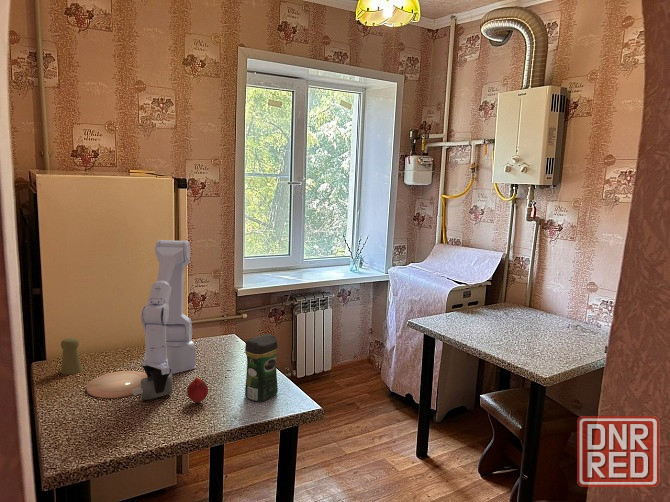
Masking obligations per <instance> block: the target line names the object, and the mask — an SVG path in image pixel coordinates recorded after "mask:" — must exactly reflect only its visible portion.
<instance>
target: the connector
mask: <svg viewBox="0 0 670 502" xmlns="http://www.w3.org/2000/svg"><path fill="white" fill-rule="evenodd" d="M173 385H174V384H173V374H169V376H168V378H167V381H166V385H165V389H164V392H161V393H158V394H157V393H156V391H155V386H154V381H153V378H152V376H151V377H147V378H143V379H142V380H141V387H139V388H135V389H132V394H133V395H132V396H136V395H137V396H138V395H140V398H141V399H142V400H153V399H156V398H159V397H163V396H168V395H170V394H172V393H173V390H174V388H173Z"/></svg>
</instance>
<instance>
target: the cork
mask: <svg viewBox="0 0 670 502" xmlns="http://www.w3.org/2000/svg"><path fill="white" fill-rule="evenodd" d="M79 345H80V341H79V339H78V337H77V338H76V337H66V338H63V339H62V340H61V342H60V348H61V349H62V356H61V357H62V358H61V368H60V373H61V374H62V375H67V376H68V375H74V374H79V373H80V372H81V371H82V364H81V360H80V354H79V350H78V347H79Z"/></svg>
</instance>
